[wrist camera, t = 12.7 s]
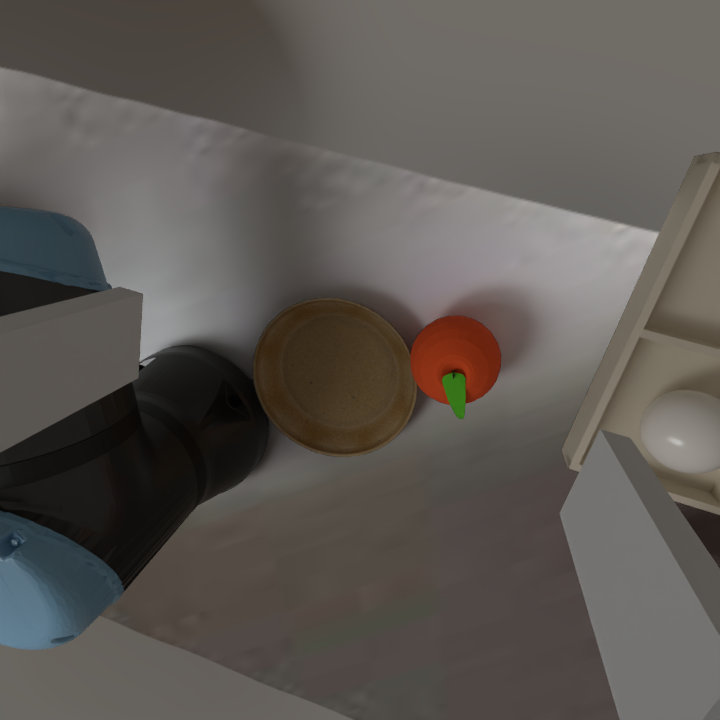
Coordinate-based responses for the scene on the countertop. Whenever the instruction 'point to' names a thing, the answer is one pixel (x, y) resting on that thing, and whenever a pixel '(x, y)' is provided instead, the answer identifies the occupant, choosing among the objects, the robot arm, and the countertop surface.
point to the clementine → (455, 361)
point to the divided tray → (665, 335)
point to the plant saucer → (334, 377)
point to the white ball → (683, 431)
